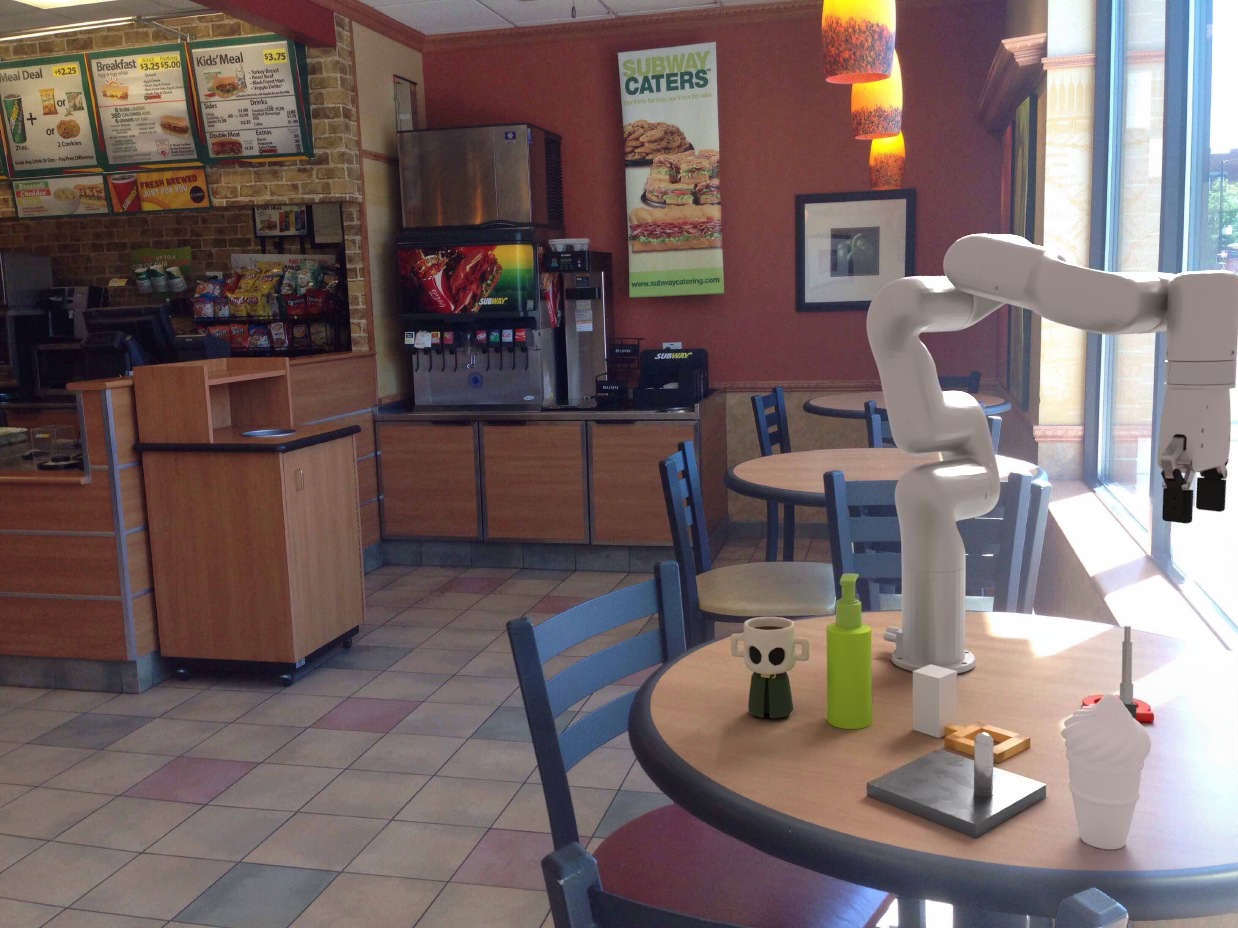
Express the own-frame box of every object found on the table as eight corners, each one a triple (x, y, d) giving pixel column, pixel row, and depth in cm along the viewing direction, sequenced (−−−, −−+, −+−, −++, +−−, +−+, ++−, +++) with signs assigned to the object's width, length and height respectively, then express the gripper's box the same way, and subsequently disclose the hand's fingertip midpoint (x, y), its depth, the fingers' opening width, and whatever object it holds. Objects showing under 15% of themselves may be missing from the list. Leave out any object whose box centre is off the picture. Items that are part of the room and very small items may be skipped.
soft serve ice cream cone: (1044, 823, 113) (1046, 679, 111) (1119, 818, 114) (1123, 674, 112) (1085, 863, 105) (1088, 707, 103) (1165, 856, 105) (1170, 702, 103)
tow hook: (1075, 701, 149) (1093, 722, 140) (1076, 611, 148) (1095, 626, 139) (1138, 702, 148) (1161, 724, 139) (1140, 611, 147) (1163, 627, 138)
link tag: (905, 732, 139) (904, 674, 138) (938, 718, 144) (938, 661, 143) (997, 763, 129) (998, 699, 128) (1030, 746, 133) (1031, 685, 132)
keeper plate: (866, 795, 121) (866, 724, 120) (938, 760, 130) (938, 693, 129) (975, 837, 111) (976, 760, 109) (1045, 796, 119) (1047, 724, 118)
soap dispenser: (874, 712, 147) (873, 571, 144) (869, 730, 140) (868, 583, 138) (831, 708, 149) (830, 569, 146) (824, 726, 142) (822, 581, 139)
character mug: (726, 719, 146) (724, 628, 144) (737, 701, 153) (735, 614, 151) (806, 726, 142) (804, 632, 141) (813, 707, 149) (812, 618, 147)
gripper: (1196, 371, 135) (1190, 502, 138) (1135, 379, 124) (1130, 522, 127) (1261, 372, 130) (1254, 509, 132) (1203, 381, 119) (1197, 530, 121)
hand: (1193, 515), depth 129 cm, fingers open, 9 cm apart
